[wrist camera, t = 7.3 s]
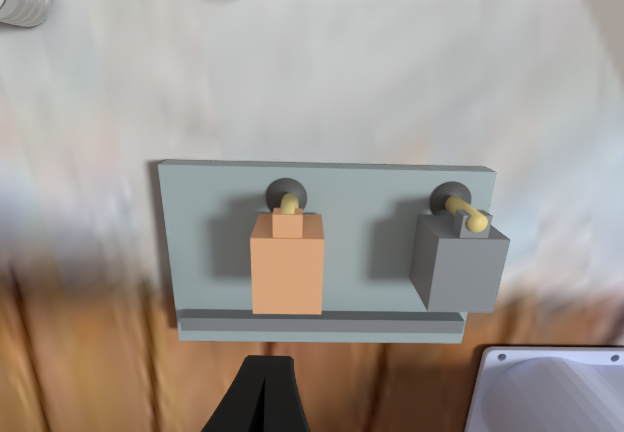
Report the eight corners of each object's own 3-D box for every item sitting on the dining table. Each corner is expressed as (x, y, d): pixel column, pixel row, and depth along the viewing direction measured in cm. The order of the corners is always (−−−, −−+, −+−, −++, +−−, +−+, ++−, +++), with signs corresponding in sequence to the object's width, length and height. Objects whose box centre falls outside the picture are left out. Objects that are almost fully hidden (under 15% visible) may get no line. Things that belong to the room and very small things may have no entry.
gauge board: (484, 166, 18) (534, 189, 14) (452, 329, 22) (485, 384, 18) (166, 159, 18) (127, 181, 14) (186, 327, 21) (158, 382, 17)
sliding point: (322, 192, 17) (325, 213, 14) (318, 279, 19) (321, 314, 16) (258, 191, 17) (249, 212, 14) (260, 278, 18) (252, 313, 16)
